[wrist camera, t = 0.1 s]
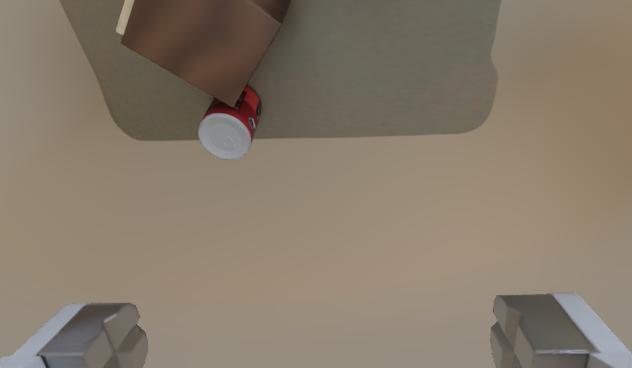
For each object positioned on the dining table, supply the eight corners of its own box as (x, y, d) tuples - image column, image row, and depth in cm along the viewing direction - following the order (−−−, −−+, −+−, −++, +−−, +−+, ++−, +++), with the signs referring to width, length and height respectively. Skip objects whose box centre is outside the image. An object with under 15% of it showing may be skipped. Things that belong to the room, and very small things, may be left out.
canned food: (244, 130, 67) (230, 168, 59) (207, 101, 63) (187, 137, 55) (271, 104, 63) (261, 140, 55) (233, 71, 60) (216, 105, 51)
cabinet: (152, 17, 55) (120, 43, 47) (185, -76, 47) (154, -64, 39) (247, 75, 60) (232, 107, 52) (290, 0, 52) (282, 24, 44)
